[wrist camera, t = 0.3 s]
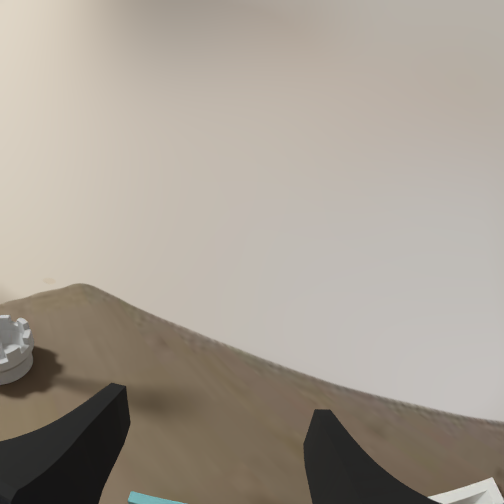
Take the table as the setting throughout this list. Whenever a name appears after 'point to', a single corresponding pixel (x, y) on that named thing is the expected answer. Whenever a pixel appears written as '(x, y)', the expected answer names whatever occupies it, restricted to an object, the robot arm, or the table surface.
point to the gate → (148, 499)
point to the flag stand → (14, 349)
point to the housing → (472, 494)
